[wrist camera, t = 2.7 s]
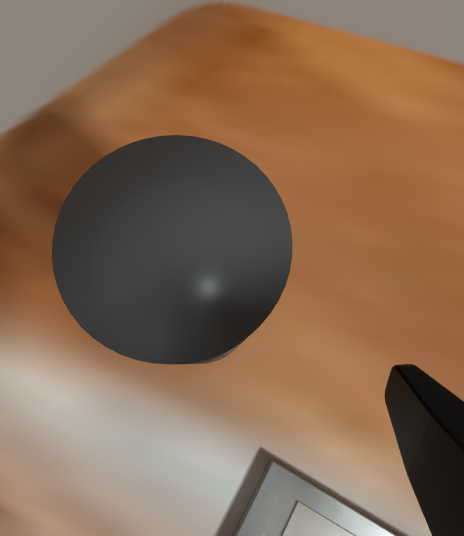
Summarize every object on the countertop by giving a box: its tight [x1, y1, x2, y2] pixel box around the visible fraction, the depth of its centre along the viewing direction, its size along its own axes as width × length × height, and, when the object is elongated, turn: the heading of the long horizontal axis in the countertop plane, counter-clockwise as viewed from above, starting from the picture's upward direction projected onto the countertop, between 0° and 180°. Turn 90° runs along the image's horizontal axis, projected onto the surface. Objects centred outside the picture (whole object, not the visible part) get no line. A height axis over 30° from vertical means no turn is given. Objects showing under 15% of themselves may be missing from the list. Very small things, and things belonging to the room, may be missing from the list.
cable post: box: [52, 135, 292, 364], centre depth 13 cm, size 5×5×11 cm
